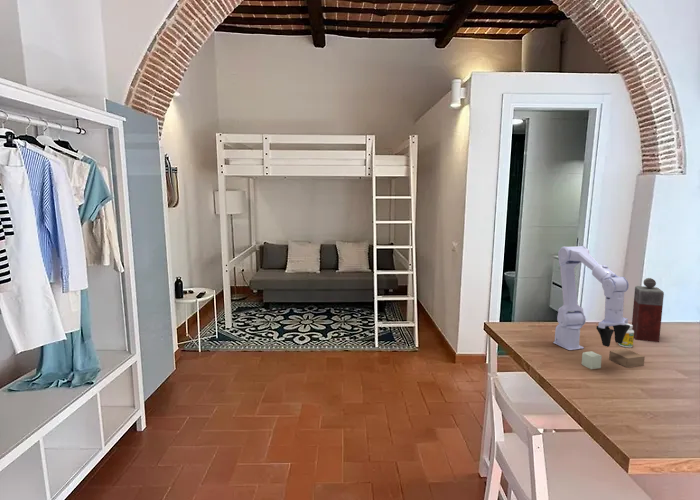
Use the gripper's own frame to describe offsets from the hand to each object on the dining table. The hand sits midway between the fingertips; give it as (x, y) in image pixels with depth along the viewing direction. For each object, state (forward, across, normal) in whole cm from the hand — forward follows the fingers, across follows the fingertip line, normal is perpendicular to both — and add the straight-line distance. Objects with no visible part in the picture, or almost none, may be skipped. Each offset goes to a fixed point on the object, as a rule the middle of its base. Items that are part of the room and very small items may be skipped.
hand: (612, 344), depth 150 cm
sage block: (+10, -4, +5) cm, 12 cm away
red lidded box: (+9, +48, +15) cm, 52 cm away
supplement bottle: (+9, +30, +12) cm, 33 cm away
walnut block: (+10, +12, +1) cm, 15 cm away
